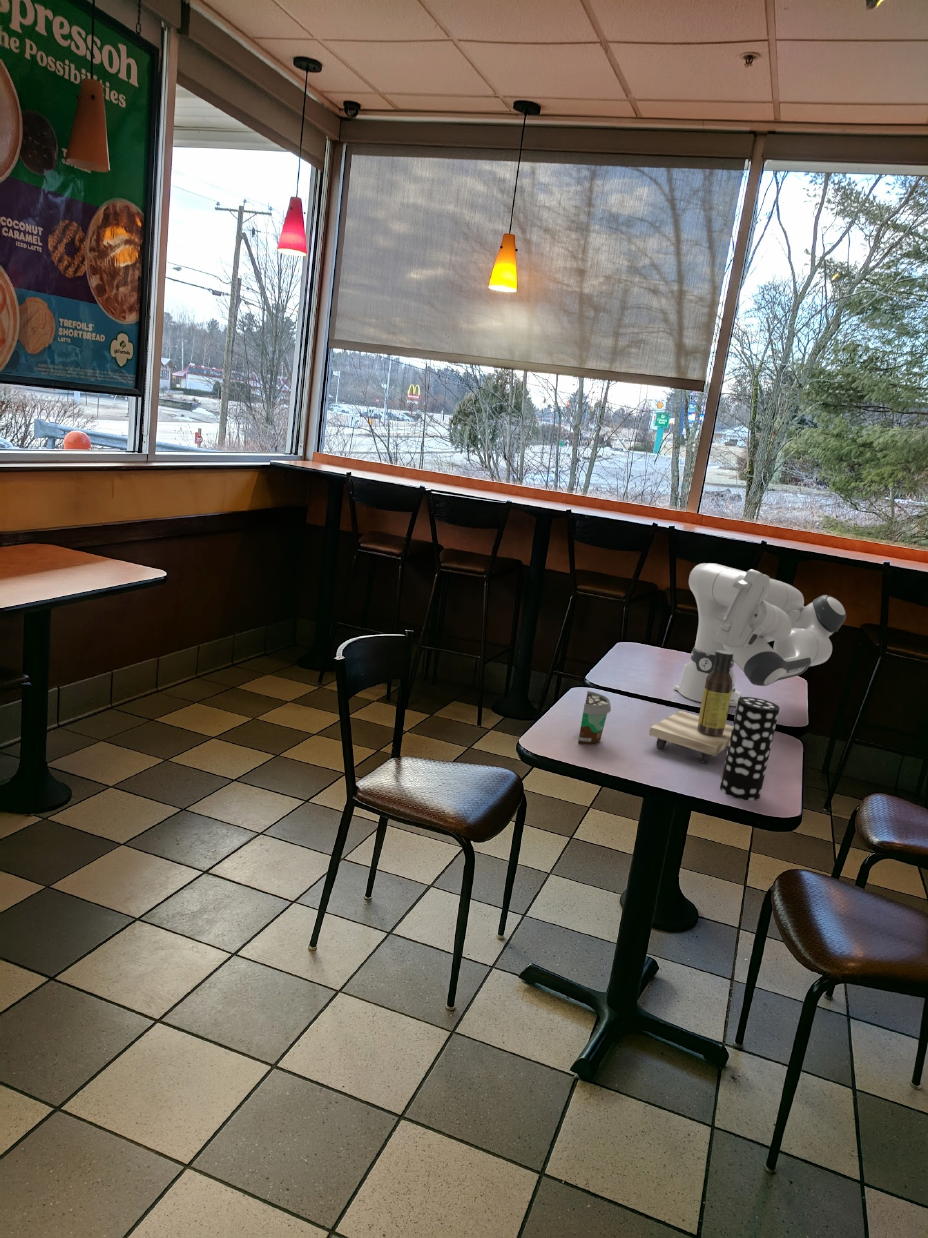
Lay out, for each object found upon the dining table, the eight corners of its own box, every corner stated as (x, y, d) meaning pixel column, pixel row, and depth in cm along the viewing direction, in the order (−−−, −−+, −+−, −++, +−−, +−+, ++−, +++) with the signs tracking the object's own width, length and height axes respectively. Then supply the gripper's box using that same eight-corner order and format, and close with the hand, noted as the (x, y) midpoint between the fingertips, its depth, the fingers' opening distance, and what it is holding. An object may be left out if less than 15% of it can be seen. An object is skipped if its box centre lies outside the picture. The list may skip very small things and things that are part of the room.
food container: (604, 750, 199) (611, 709, 196) (577, 745, 200) (584, 704, 197) (606, 734, 210) (613, 694, 208) (581, 729, 211) (587, 690, 209)
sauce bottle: (728, 737, 204) (745, 656, 200) (708, 737, 202) (724, 656, 198) (710, 727, 210) (726, 648, 206) (690, 728, 207) (706, 648, 203)
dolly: (676, 729, 222) (679, 710, 220) (737, 748, 213) (742, 729, 212) (646, 746, 205) (650, 727, 204) (712, 768, 197) (716, 747, 196)
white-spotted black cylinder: (768, 800, 182) (788, 710, 178) (734, 800, 179) (753, 709, 175) (745, 784, 190) (763, 697, 185) (712, 784, 187) (730, 696, 183)
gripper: (782, 581, 220) (756, 567, 210) (746, 654, 222) (719, 643, 213) (761, 573, 224) (735, 559, 215) (726, 644, 227) (699, 633, 217)
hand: (727, 602), depth 214 cm, fingers open, 8 cm apart
